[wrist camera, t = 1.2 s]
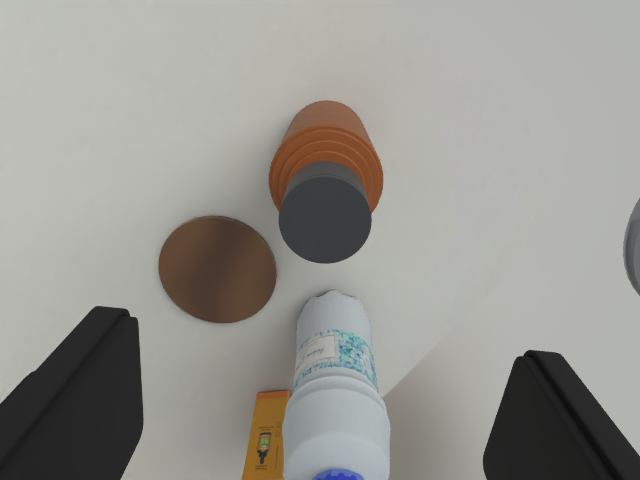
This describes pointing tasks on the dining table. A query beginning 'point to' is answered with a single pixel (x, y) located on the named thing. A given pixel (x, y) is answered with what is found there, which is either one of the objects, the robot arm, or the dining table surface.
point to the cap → (325, 213)
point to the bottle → (335, 397)
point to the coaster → (217, 269)
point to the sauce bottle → (326, 149)
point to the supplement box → (267, 438)
